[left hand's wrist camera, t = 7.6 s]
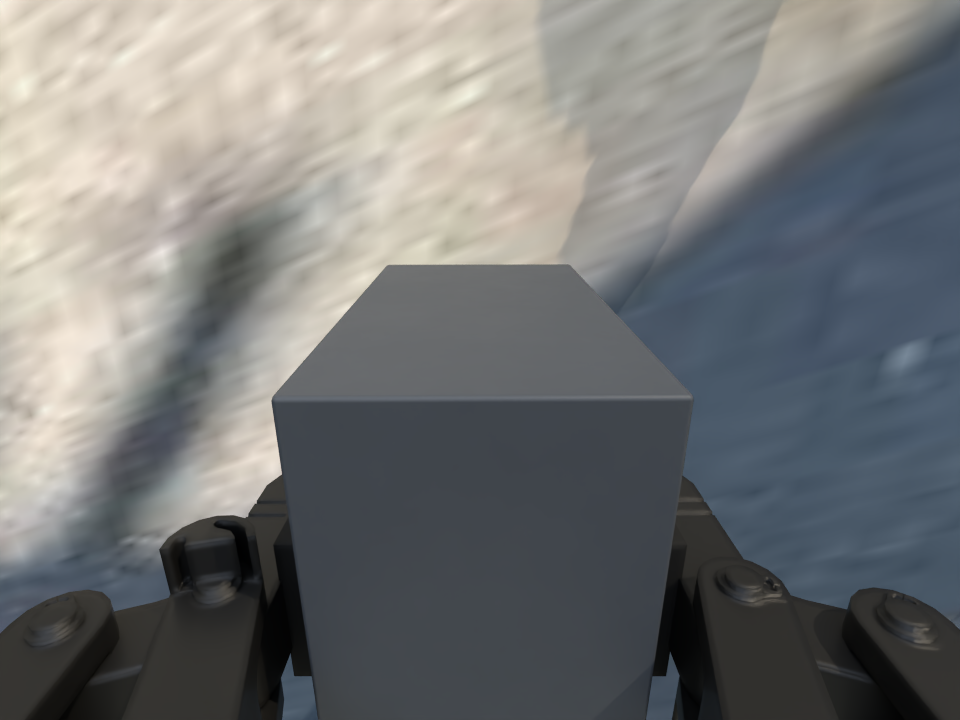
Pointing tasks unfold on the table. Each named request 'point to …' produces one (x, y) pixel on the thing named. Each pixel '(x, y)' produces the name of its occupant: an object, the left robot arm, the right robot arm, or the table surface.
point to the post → (482, 499)
